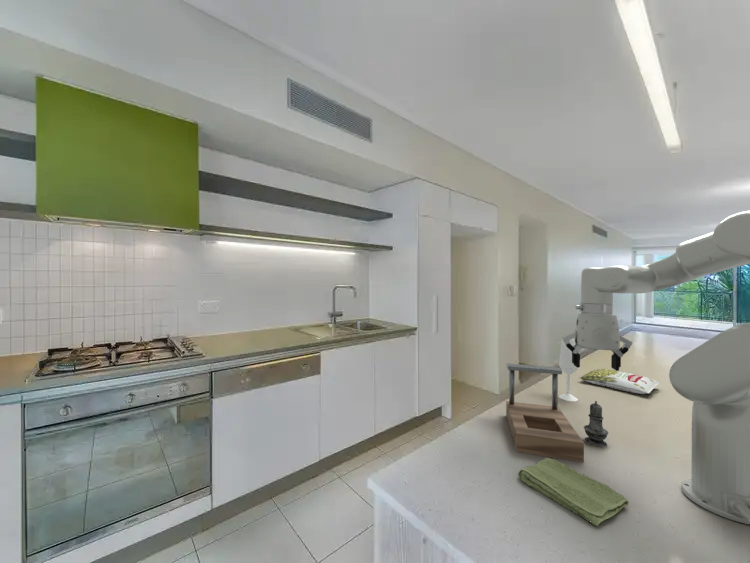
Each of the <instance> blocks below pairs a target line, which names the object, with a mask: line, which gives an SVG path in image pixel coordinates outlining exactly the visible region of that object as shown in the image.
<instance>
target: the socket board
mask: <svg viewBox="0 0 750 563" xmlns="http://www.w3.org/2000/svg"><path fill="white" fill-rule="evenodd" d="M505 403H506V406H505V413H506V414H505V417H506V420H507V424H508V427H509V431H510V435H511V437H512V441H513V445H514V448H515V451H516V452H518V453H522V454H523V453H525V454H530V455H536V456H541V457H546V458H553V459H555V458H556V459H560V460H561V459H562V460H567V461H573V462H581V463H585V442H584V441H583V439H582V438H581V437H580V435H579V434H578V433H577V431H576V430H575V428H574V427H573V425H572V424H571V423H570V422H569V420H568V419H567V417H566V416H565V415H564V413H563V412H562V410H561V409H560V407H558V410H554V409H552V405H550V406H549V405H544V404H535V403H525V402H516V401H514V405H511V404H509V401H508V400H507V401H506V402H505Z"/></svg>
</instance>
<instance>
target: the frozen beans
mask: <svg viewBox="0 0 750 563" xmlns="http://www.w3.org/2000/svg"><path fill="white" fill-rule="evenodd" d="M579 379H581V380H582V381H585V382H587V383H590V384H593V385H598V386H601V387H605V386H606V388H609V387H610V388H611V389H613V388H614V390H619V391H623V392H628V393H632V394H639V395H645V394H650V393H651V392H652V391H653V389H654V388H656V387H657V386H658V385H660V384H661V382H659V381H658V380H655V379H652V378H650V377H646V376H644V375H639V374H634V373H630V372H624V371H620V370H619V371H616V370H614V369H608V368H597V369H593V370H591V371H589V372H587V373H585V374H584V375H582V376H580V377H579ZM610 388H609V389H610Z"/></svg>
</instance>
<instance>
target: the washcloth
mask: <svg viewBox="0 0 750 563" xmlns="http://www.w3.org/2000/svg"><path fill="white" fill-rule="evenodd" d="M517 475H518V478H519V479H520V481H522V482H523V483H524V484H525V485H527V486H529V487H531V488H532V489H533V490H535V491H536V490H537V491H536V492H538V493H540V494H542V493H543V494H542V495H544V496H545V495H546V496H545V497H547V498H548V497H549V498H548V499H550V498H551V499H550V500H552V499H553V500H552V501H554V502H556V503H558V504H559V505H561V506H562V507H564V508H566V509H567V508H568V509H567V510H569V511H571V510H572V511H571V512H573V513H574V514H575V513H576V515H577V516H580V517H581V516H582V518H583V517H584V518H583V519H584V520H585V519H587V520H588V521H587V520H586V521H587V522H589V521H591V523H590V524H592V525H593V526H595V527H599V526H600V524H601V523H603V522H604V521H606V520H607V519H610V518H612V517H614V516H615V515H616V514H618V513H619V512H620V511H622V509H623V508H625V507H627V506H628V505H629V500H628V499H627V498H625V496H624V495H623V494H621V493H619V492H617V491H616V490H615V489H613V488H611V487H610V486H609V485H607V484H605V483H602V482H600V481H598V480H597V479H593V478H592V477H589V475H585V474H584V473H581V472H578V471H577V470H575V469H573V468H571V467H570V466H569V465H567V464H565V463H562V462H560V461H558V460H556V459H555V458H550V457H545V458H543V459H541V460H540V461H538V462H536V463H535V464H534V465H527V466H526V467H523V468H520V470H519V471H518V473H517Z"/></svg>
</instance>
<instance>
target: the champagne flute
mask: <svg viewBox="0 0 750 563" xmlns="http://www.w3.org/2000/svg"><path fill="white" fill-rule="evenodd" d="M569 342H570V344H571V345H572V346H574V345H575V344H576V343H575V338H573V339H571V340H569ZM558 366H559V367H558V368H560V369H561V370H562V372H563V373H564V374H566V393H563V394H560V395H558V399H561V400H563V401H567V402H578V401H579V399H578V398H577V397H576V396H574V395H572V393H571V375H573V374H574V373H576V372H577V370H579V368H578V367H576V366H574V364H573V363H572V351H571V350H570V349H568V348H567V347H566V345H565V343H564V342H563V340H562V339H561V343H560V351H559V360H558Z"/></svg>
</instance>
